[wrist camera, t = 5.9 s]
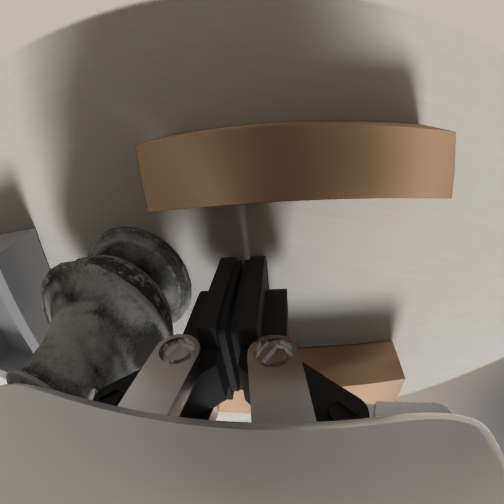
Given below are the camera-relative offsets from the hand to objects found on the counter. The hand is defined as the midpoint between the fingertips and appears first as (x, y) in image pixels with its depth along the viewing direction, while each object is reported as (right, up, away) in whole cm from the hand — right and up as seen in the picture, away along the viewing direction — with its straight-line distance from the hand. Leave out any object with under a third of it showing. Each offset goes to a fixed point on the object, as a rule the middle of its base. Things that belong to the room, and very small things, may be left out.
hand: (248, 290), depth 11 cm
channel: (+2, 0, 0) cm, 2 cm away
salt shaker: (-5, 0, +1) cm, 5 cm away
